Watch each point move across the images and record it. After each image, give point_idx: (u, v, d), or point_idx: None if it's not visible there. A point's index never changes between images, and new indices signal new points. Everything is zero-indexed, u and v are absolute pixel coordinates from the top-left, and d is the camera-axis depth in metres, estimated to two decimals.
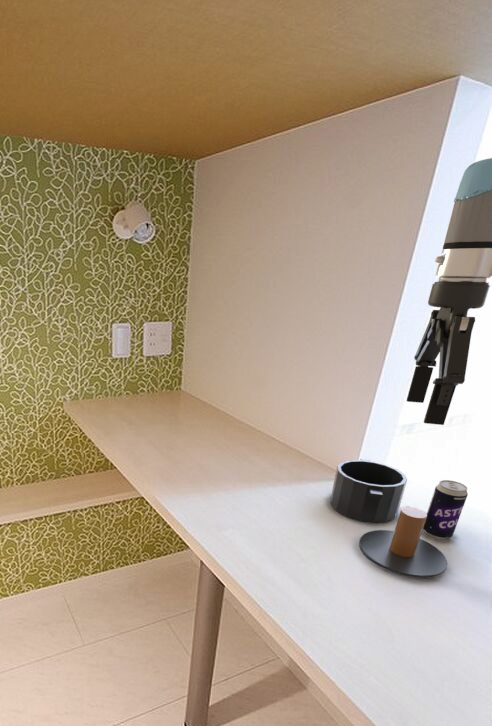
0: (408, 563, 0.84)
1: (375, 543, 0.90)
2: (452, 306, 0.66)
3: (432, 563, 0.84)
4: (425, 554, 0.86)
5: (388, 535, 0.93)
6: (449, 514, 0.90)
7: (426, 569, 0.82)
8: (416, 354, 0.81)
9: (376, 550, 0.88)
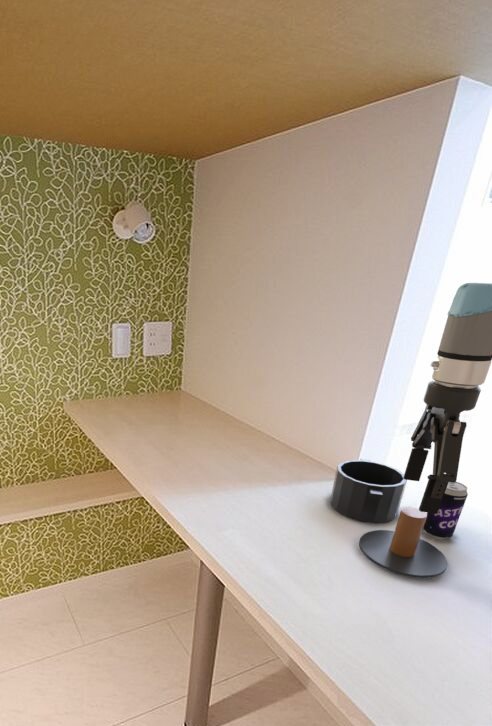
0: (408, 563, 0.84)
1: (375, 543, 0.90)
2: (445, 408, 0.72)
3: (432, 563, 0.84)
4: (425, 554, 0.86)
5: (388, 535, 0.93)
6: (449, 514, 0.90)
7: (426, 569, 0.82)
8: (412, 436, 0.87)
9: (376, 550, 0.88)
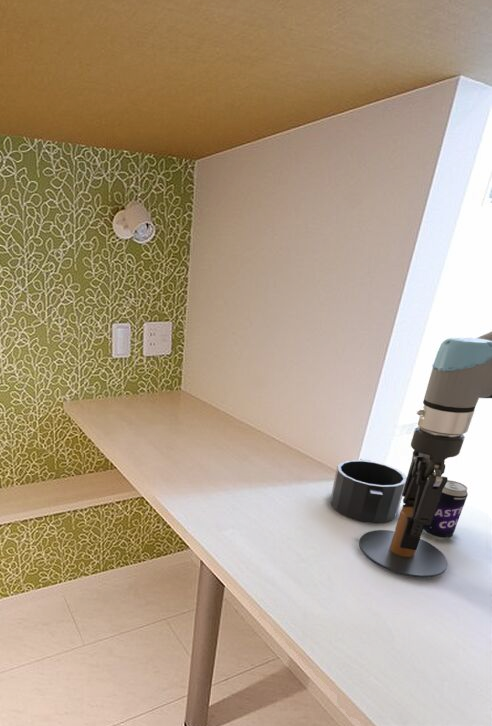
0: (408, 563, 0.84)
1: (375, 543, 0.90)
2: (431, 455, 0.75)
3: (432, 563, 0.84)
4: (425, 554, 0.86)
5: (388, 535, 0.93)
6: (449, 514, 0.90)
7: (426, 569, 0.82)
8: (403, 491, 0.88)
9: (376, 550, 0.88)
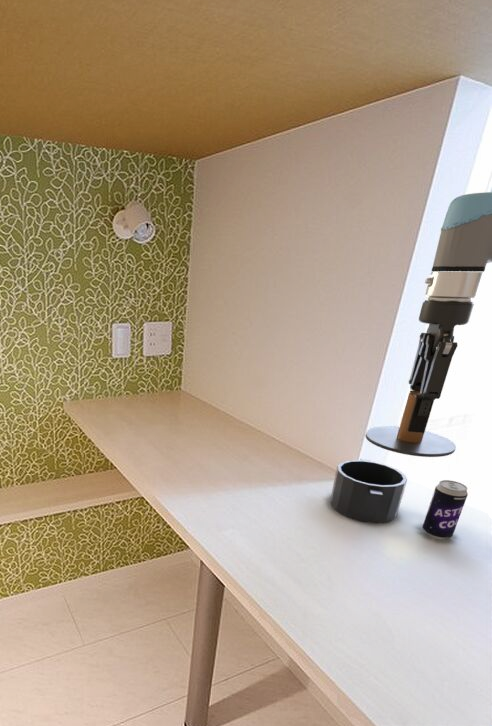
0: (416, 446, 0.82)
1: (382, 434, 0.88)
2: (440, 323, 0.74)
3: (440, 446, 0.83)
4: (433, 441, 0.85)
5: (394, 429, 0.91)
6: (449, 514, 0.90)
7: (435, 450, 0.81)
8: (410, 378, 0.87)
9: (383, 438, 0.86)
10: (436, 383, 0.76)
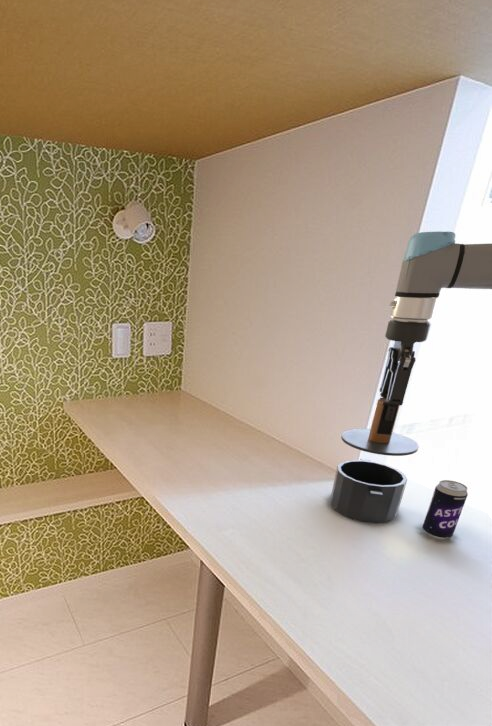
0: (383, 446, 0.94)
1: (355, 435, 1.01)
2: (402, 340, 0.86)
3: (405, 446, 0.95)
4: (399, 442, 0.97)
5: (368, 431, 1.03)
6: (449, 514, 0.90)
7: (399, 450, 0.93)
8: (381, 387, 0.99)
9: (356, 439, 0.98)
10: (398, 392, 0.88)
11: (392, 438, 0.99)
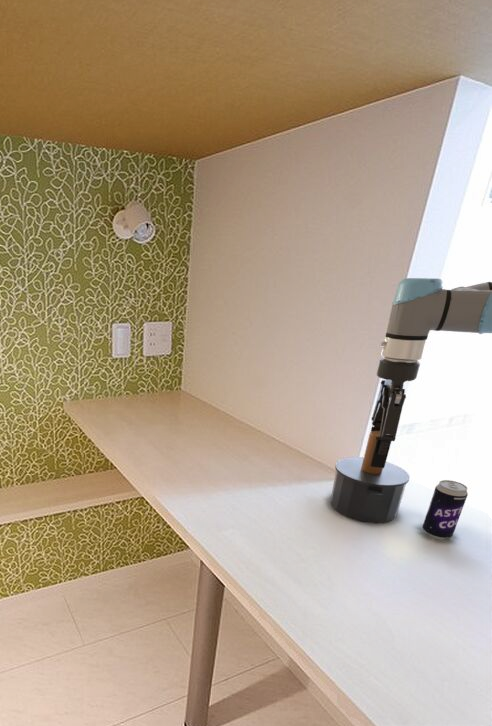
0: (375, 477, 0.98)
1: (349, 465, 1.04)
2: (392, 379, 0.89)
3: (396, 477, 0.98)
4: (391, 472, 1.00)
5: (361, 460, 1.07)
6: (449, 514, 0.90)
7: (390, 481, 0.96)
8: (372, 416, 1.03)
9: (349, 469, 1.02)
10: (391, 427, 0.90)
11: (384, 468, 1.02)
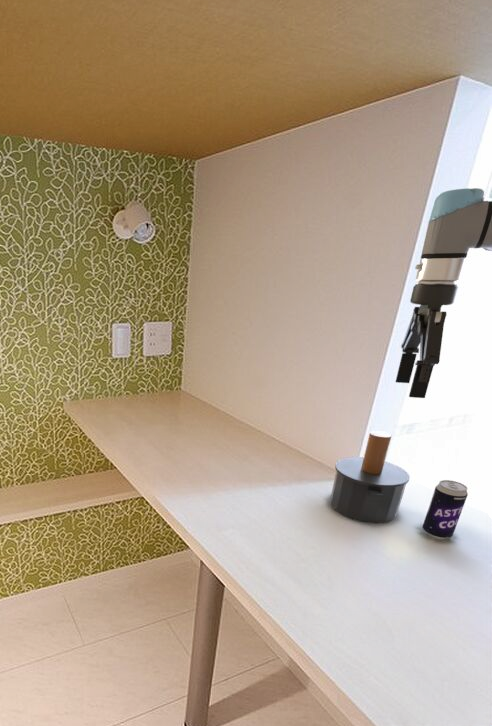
0: (375, 477, 0.98)
1: (349, 465, 1.04)
2: (429, 303, 0.84)
3: (396, 477, 0.98)
4: (391, 472, 1.00)
5: (361, 460, 1.07)
6: (449, 514, 0.90)
7: (390, 481, 0.96)
8: (402, 343, 0.99)
9: (349, 469, 1.02)
10: (433, 348, 0.82)
11: (384, 468, 1.02)
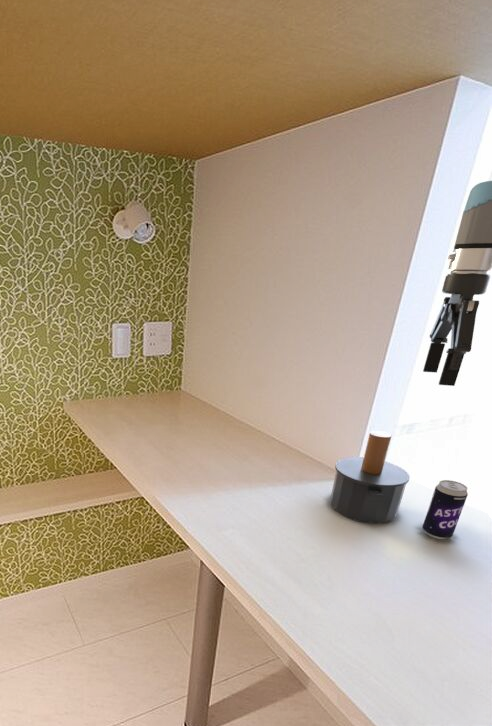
0: (375, 477, 0.98)
1: (349, 465, 1.04)
2: (461, 293, 0.86)
3: (396, 477, 0.98)
4: (391, 472, 1.00)
5: (361, 460, 1.07)
6: (449, 514, 0.90)
7: (390, 481, 0.96)
8: (431, 333, 1.01)
9: (349, 469, 1.02)
10: (465, 336, 0.84)
11: (384, 468, 1.02)
